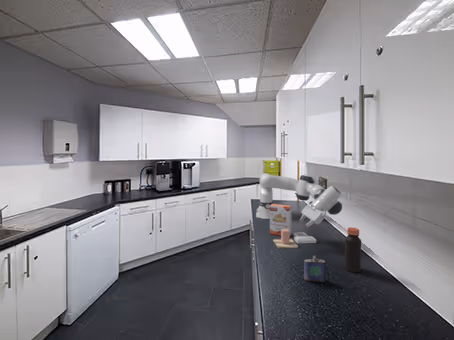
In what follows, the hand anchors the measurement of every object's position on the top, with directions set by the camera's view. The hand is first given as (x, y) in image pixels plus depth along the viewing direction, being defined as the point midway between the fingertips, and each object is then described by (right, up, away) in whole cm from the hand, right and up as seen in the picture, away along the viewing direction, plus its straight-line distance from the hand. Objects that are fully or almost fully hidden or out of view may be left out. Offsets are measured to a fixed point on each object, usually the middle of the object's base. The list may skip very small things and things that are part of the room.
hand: (303, 223), depth 136 cm
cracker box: (-10, -12, +17) cm, 23 cm away
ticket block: (-11, -12, 0) cm, 17 cm away
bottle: (+13, -15, -30) cm, 36 cm away
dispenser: (+2, -12, +8) cm, 15 cm away
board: (-11, -13, 0) cm, 17 cm away
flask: (-8, -16, -38) cm, 42 cm away
